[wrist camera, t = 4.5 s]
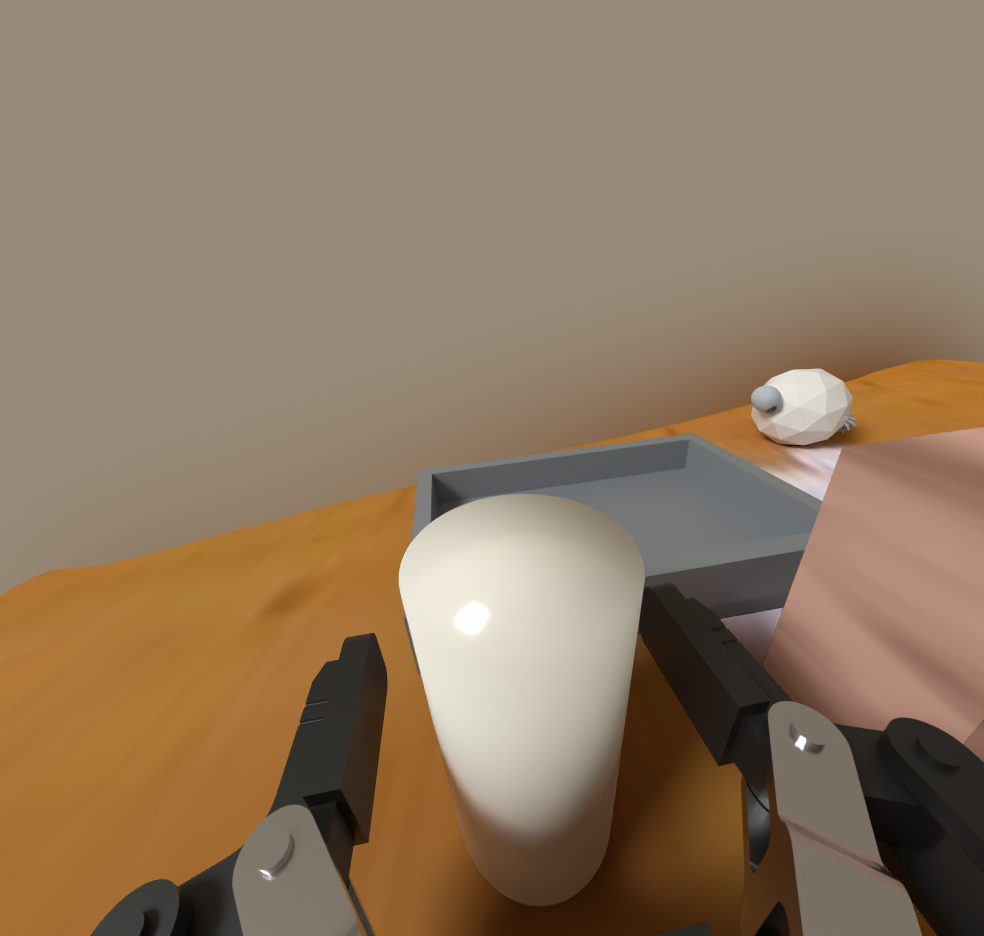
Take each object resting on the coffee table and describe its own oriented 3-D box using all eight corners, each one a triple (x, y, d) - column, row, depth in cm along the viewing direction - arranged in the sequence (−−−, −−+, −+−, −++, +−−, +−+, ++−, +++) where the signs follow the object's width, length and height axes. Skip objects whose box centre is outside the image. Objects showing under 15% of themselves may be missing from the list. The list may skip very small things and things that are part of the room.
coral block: (868, 645, 16) (986, 426, 11) (1041, 784, 11) (1347, 511, 7) (762, 666, 15) (842, 447, 11) (898, 819, 11) (1127, 551, 6)
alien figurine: (783, 440, 40) (705, 422, 35) (819, 376, 37) (740, 348, 33) (862, 468, 33) (778, 450, 29) (912, 392, 31) (829, 360, 27)
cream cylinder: (578, 702, 15) (587, 482, 10) (642, 882, 10) (706, 629, 6) (454, 726, 14) (407, 508, 10) (462, 927, 10) (383, 689, 5)
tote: (686, 472, 31) (693, 433, 29) (860, 592, 18) (887, 535, 17) (426, 509, 29) (418, 469, 27) (418, 673, 16) (403, 617, 15)
